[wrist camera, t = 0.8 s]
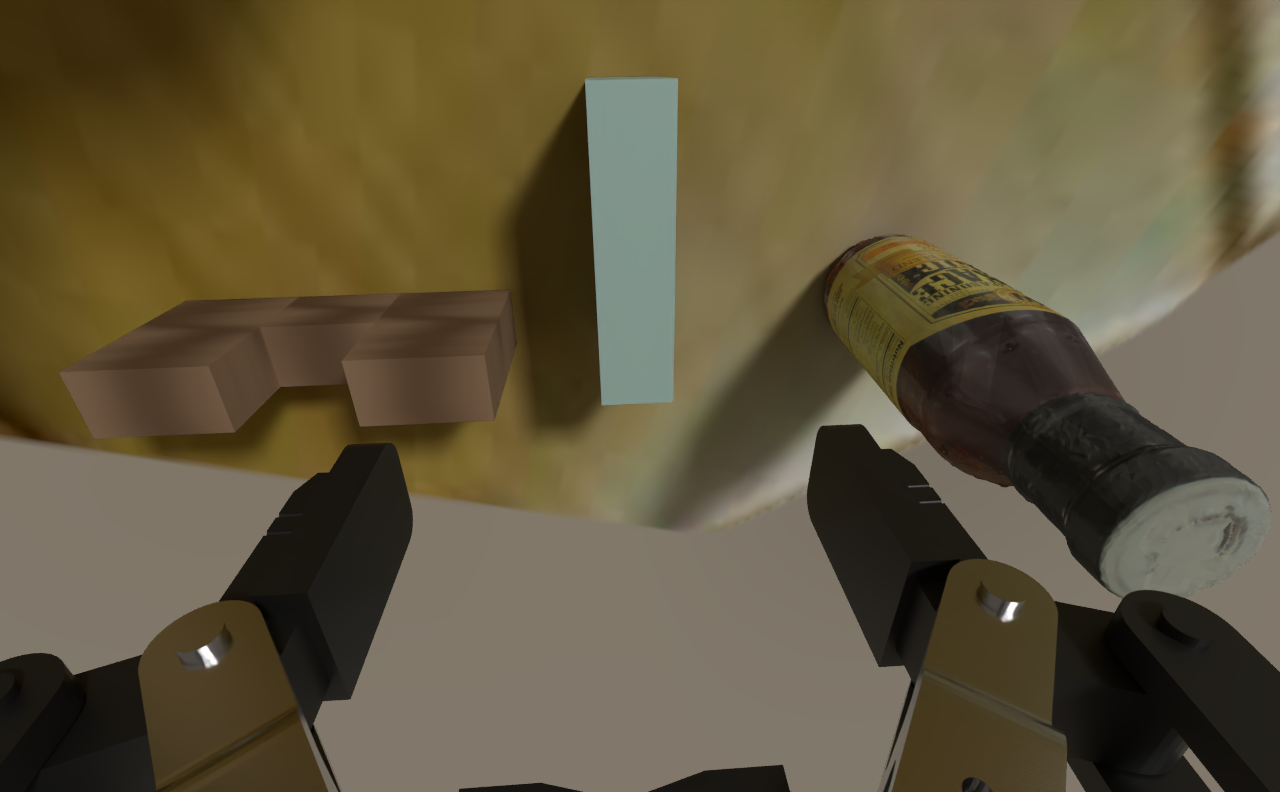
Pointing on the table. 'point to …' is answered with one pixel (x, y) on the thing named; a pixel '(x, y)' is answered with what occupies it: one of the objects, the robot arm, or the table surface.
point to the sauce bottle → (1041, 418)
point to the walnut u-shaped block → (301, 361)
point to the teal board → (634, 233)
